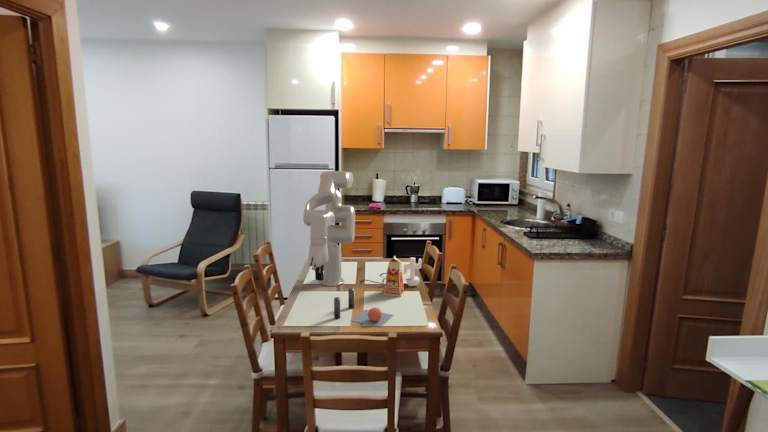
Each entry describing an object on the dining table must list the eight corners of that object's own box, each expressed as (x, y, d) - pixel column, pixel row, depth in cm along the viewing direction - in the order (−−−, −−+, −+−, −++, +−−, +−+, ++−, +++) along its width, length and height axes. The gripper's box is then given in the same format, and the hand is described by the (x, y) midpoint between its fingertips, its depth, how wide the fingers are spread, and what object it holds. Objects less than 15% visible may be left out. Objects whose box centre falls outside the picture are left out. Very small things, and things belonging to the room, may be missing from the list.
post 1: (333, 318, 194) (333, 298, 192) (336, 316, 196) (336, 296, 194) (338, 319, 193) (338, 299, 191) (341, 317, 195) (341, 297, 193)
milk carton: (401, 296, 222) (402, 257, 218) (383, 295, 223) (383, 256, 220) (404, 290, 230) (405, 253, 227) (386, 289, 232) (387, 251, 229)
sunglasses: (380, 289, 234) (380, 279, 233) (359, 282, 244) (359, 273, 243) (400, 281, 247) (400, 272, 246) (379, 275, 256) (379, 267, 255)
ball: (379, 320, 187) (368, 325, 189) (386, 316, 192) (376, 321, 195) (373, 307, 188) (363, 311, 190) (381, 303, 193) (370, 308, 196)
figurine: (402, 282, 243) (403, 256, 240) (419, 282, 244) (420, 255, 241) (404, 287, 236) (405, 259, 233) (422, 286, 237) (423, 259, 234)
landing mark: (350, 321, 191) (350, 320, 191) (365, 309, 204) (365, 309, 204) (380, 327, 186) (380, 326, 185) (393, 315, 198) (393, 314, 198)
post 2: (347, 308, 205) (347, 289, 204) (350, 306, 208) (350, 287, 206) (352, 309, 204) (352, 290, 203) (355, 307, 207) (355, 288, 205)
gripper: (320, 236, 208) (320, 274, 211) (302, 243, 194) (303, 283, 198) (334, 238, 205) (334, 276, 208) (317, 245, 191) (317, 285, 195)
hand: (319, 279), depth 203 cm, fingers closed
